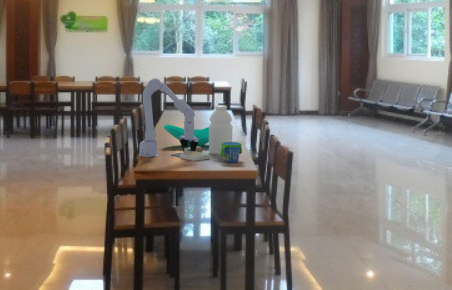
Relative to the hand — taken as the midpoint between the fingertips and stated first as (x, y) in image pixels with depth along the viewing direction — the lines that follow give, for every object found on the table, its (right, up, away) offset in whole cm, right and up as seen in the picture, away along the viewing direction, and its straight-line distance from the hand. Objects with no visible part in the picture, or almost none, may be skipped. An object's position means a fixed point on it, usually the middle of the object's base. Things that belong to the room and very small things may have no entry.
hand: (189, 152), depth 374 cm
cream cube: (+2, -3, -13) cm, 14 cm away
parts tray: (0, -2, 0) cm, 2 cm away
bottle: (+18, -1, +10) cm, 21 cm away
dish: (+4, -3, -12) cm, 13 cm away
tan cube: (+5, -1, +4) cm, 6 cm away
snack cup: (+24, -5, -18) cm, 30 cm away
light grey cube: (0, -1, 0) cm, 1 cm away
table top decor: (+2, +4, +37) cm, 37 cm away
